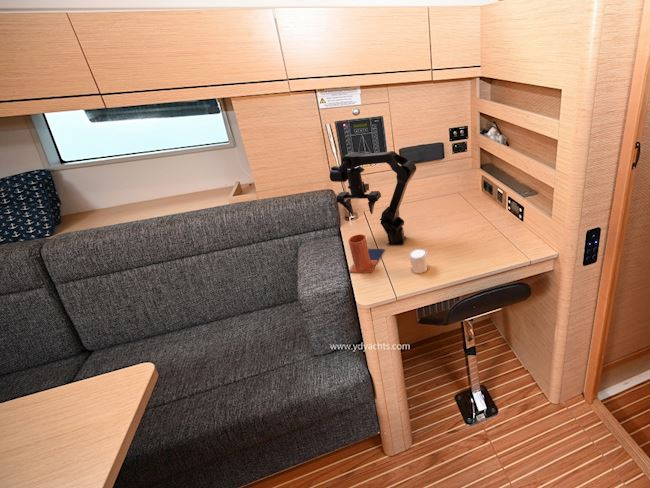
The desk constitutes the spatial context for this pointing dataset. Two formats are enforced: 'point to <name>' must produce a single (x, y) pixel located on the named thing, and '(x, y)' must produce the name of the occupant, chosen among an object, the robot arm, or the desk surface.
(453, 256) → the desk surface
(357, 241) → the terracotta cup
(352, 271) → the sorting mat
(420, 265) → the shot glass
